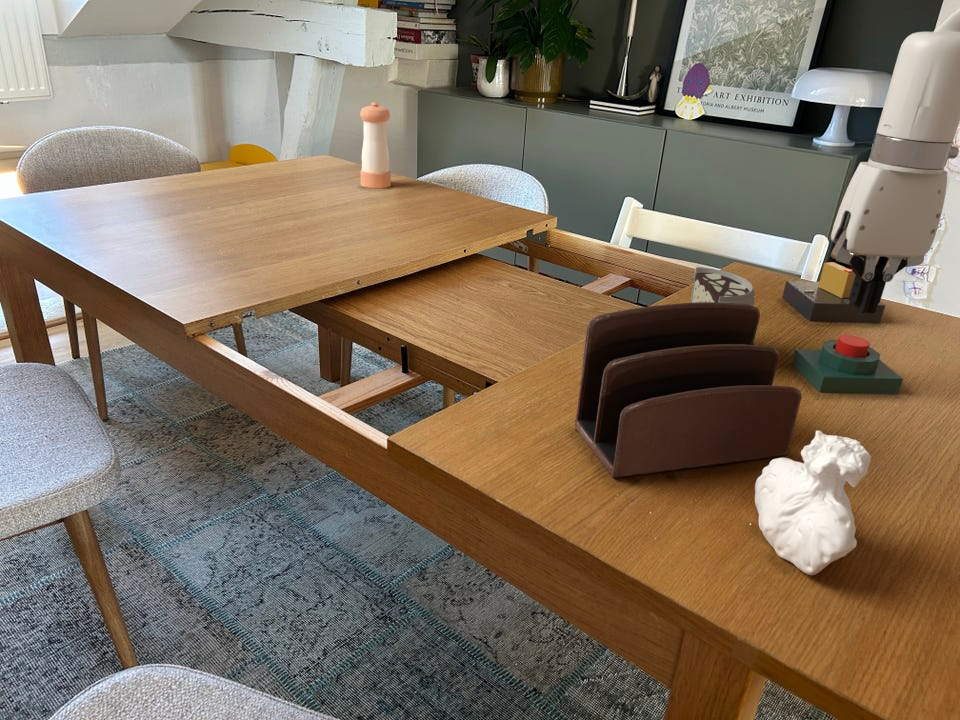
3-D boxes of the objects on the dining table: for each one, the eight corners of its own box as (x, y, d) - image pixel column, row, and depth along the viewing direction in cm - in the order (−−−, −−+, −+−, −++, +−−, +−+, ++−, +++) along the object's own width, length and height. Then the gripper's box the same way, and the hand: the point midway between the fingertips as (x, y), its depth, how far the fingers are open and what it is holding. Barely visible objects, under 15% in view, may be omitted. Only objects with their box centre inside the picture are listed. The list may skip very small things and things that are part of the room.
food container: (754, 374, 93) (771, 300, 89) (705, 372, 93) (721, 298, 89) (725, 335, 104) (740, 268, 100) (682, 333, 104) (695, 265, 100)
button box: (864, 365, 97) (872, 338, 95) (898, 394, 90) (908, 365, 88) (791, 364, 96) (798, 336, 95) (819, 392, 89) (827, 363, 87)
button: (856, 347, 93) (860, 334, 92) (871, 359, 90) (875, 346, 89) (829, 346, 93) (833, 334, 92) (843, 359, 90) (847, 346, 89)
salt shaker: (393, 188, 177) (393, 104, 168) (362, 188, 175) (361, 104, 166) (388, 181, 183) (387, 100, 175) (358, 181, 181) (357, 100, 173)
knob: (817, 286, 116) (824, 261, 114) (827, 286, 116) (834, 260, 115) (841, 298, 111) (849, 271, 110) (851, 297, 112) (858, 271, 110)
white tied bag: (830, 612, 59) (945, 520, 56) (772, 569, 56) (890, 471, 53) (763, 518, 70) (857, 437, 67) (712, 478, 67) (807, 392, 64)
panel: (847, 299, 120) (852, 281, 119) (879, 323, 111) (885, 304, 110) (781, 298, 119) (786, 279, 118) (809, 321, 110) (814, 302, 109)
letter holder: (572, 428, 79) (587, 305, 73) (733, 410, 84) (759, 295, 78) (612, 481, 70) (632, 347, 64) (788, 458, 75) (822, 332, 69)
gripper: (951, 152, 85) (902, 300, 93) (827, 145, 84) (788, 295, 92) (995, 164, 78) (939, 323, 86) (860, 157, 77) (816, 318, 85)
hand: (861, 308), depth 89 cm, fingers closed
